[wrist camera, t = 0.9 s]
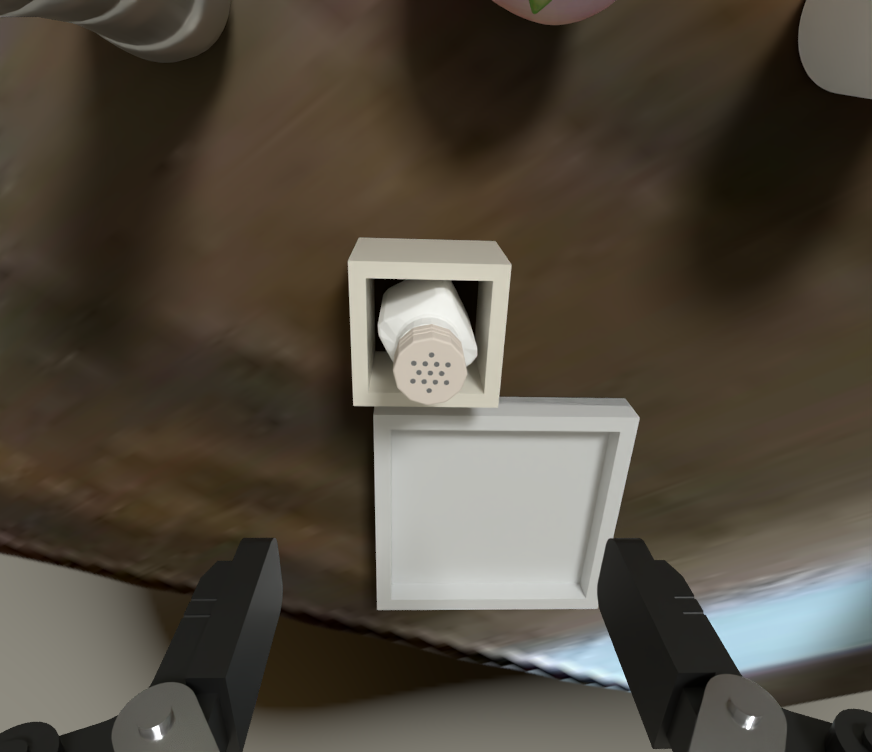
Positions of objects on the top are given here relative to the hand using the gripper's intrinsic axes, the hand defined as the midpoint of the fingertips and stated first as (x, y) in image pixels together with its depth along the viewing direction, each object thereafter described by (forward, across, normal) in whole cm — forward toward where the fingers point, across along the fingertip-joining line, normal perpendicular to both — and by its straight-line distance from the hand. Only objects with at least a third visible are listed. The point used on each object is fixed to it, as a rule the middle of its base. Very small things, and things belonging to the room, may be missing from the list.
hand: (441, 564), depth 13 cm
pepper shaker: (+21, 0, 0) cm, 21 cm away
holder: (+20, 0, 0) cm, 20 cm away
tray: (+20, -5, +14) cm, 25 cm away
